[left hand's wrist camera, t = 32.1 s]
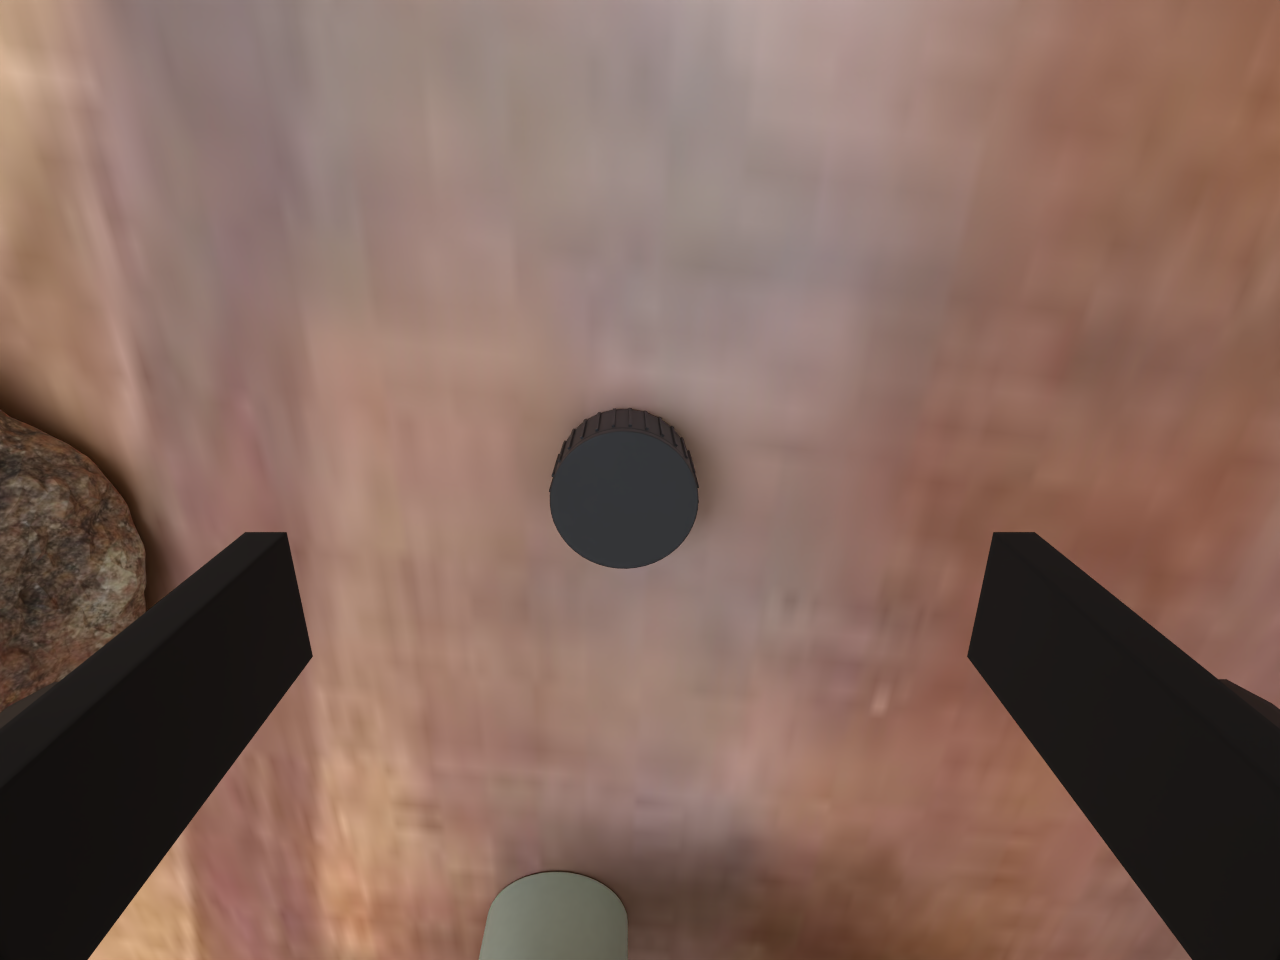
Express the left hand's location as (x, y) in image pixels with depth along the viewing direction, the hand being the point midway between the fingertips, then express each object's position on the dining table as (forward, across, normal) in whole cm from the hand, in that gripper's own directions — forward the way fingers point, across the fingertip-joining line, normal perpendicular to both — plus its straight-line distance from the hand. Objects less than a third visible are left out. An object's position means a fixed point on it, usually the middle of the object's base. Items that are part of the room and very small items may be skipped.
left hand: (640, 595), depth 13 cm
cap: (+6, 0, 0) cm, 6 cm away
